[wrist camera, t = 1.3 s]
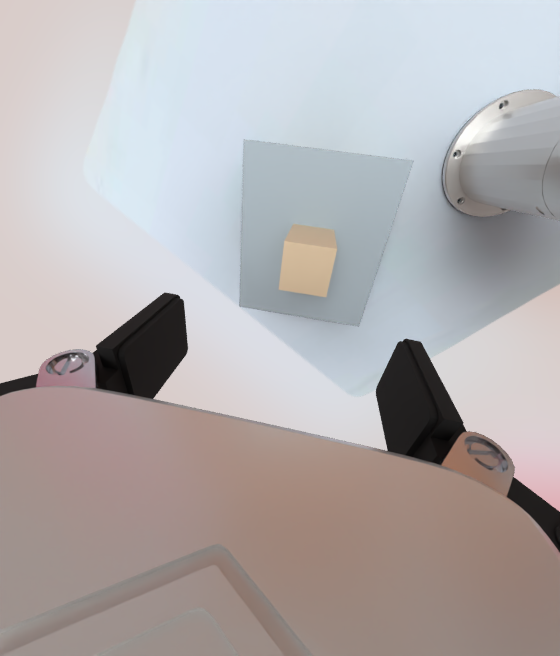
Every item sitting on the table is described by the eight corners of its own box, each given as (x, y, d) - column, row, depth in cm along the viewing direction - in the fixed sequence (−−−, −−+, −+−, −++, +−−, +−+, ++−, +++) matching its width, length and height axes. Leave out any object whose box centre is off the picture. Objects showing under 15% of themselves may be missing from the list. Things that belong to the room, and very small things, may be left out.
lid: (406, 161, 23) (447, 158, 15) (356, 317, 32) (367, 365, 24) (250, 141, 24) (214, 129, 16) (244, 298, 33) (219, 339, 25)
